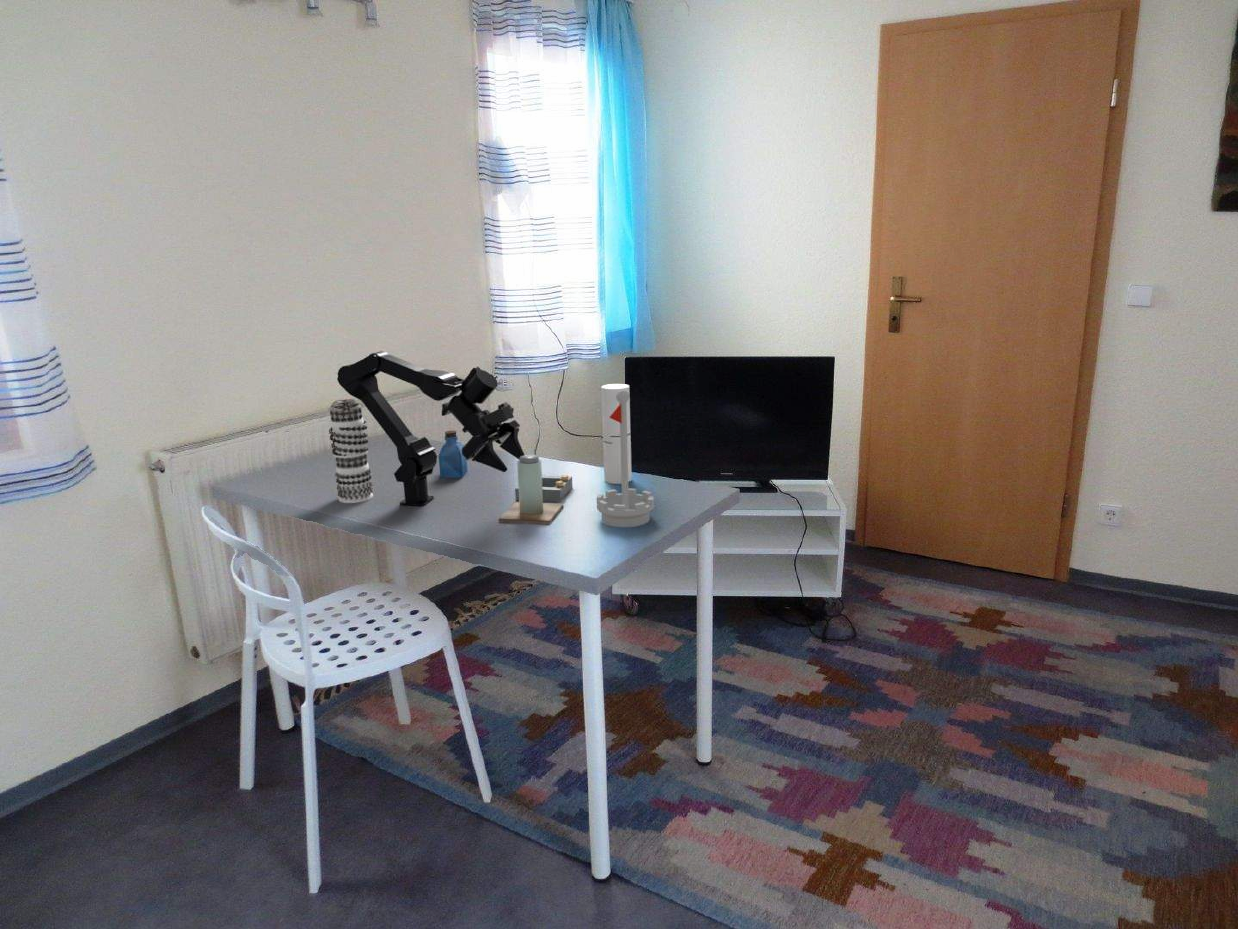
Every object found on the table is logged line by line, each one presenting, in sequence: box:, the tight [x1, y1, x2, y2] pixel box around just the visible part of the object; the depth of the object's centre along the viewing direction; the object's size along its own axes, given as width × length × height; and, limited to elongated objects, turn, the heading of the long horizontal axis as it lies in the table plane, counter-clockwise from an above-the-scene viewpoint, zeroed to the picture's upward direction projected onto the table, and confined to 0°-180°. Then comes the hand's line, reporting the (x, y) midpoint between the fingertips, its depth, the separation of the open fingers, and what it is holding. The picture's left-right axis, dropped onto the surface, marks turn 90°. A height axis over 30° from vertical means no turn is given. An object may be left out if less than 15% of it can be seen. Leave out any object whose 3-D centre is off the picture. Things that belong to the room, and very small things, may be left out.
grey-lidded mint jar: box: [516, 454, 544, 515], centre depth 198 cm, size 6×6×13 cm
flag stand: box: [596, 390, 655, 528], centre depth 191 cm, size 13×13×30 cm
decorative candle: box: [327, 398, 374, 504], centre depth 213 cm, size 9×9×25 cm
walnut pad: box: [498, 501, 564, 525], centre depth 200 cm, size 12×12×1 cm
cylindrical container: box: [601, 383, 632, 485], centre depth 222 cm, size 7×7×25 cm
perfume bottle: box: [438, 430, 468, 479], centre depth 233 cm, size 6×6×12 cm
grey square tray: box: [514, 475, 573, 503], centre depth 215 cm, size 12×12×4 cm
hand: (515, 465), depth 198 cm, fingers open, 9 cm apart
